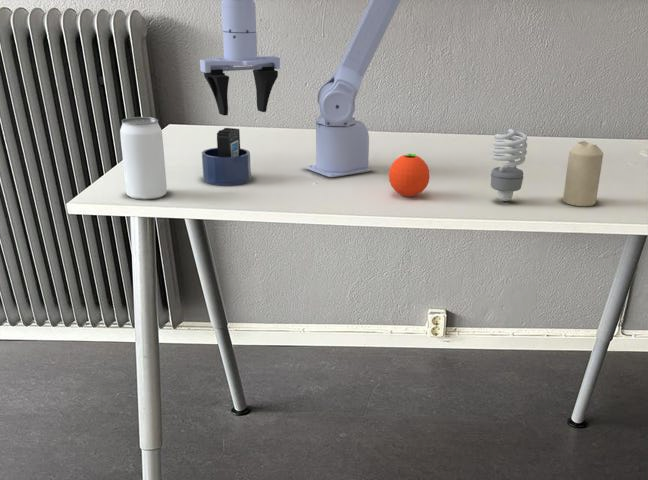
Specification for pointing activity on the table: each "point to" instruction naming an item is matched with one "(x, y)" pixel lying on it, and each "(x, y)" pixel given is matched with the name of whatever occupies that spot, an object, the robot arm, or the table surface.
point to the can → (143, 158)
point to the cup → (226, 168)
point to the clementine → (409, 175)
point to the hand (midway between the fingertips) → (242, 112)
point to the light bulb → (508, 164)
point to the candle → (583, 174)
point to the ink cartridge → (228, 142)
